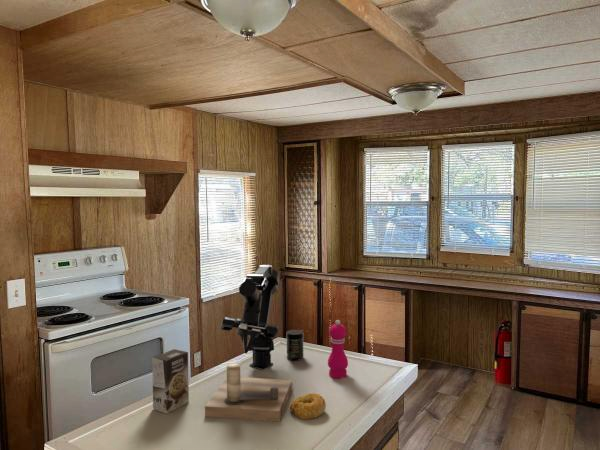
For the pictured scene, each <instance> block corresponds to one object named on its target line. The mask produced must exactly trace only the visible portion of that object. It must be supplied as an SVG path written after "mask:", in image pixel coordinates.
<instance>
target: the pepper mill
mask: <svg viewBox="0 0 600 450" xmlns="http://www.w3.org/2000/svg"><path fill="white" fill-rule="evenodd" d="M334 322H335V323H334V324H332V325H331V326H330V328H329V330H328V331H329V335H330V343H331V345H332V347H331V352H330V354H329V356H328V359H327V366H328V368H329V370H328V375H329V377H330V378H333V379H343V378H346V377H347V376H348V375H347V373H348V372H347V368H348V366H349V360H348V357H347V355H346V353H345V349H344V344H345V342H346V338H345V336H346V335H347V329H346V327H345V326H344V324H341V321H340V319H337V320H335V321H334Z"/></svg>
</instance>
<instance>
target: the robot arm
mask: <svg viewBox="0 0 600 450" xmlns="http://www.w3.org/2000/svg"><path fill="white" fill-rule="evenodd" d="M280 281H281V279H280V274H279V272H278V271H276V269H274V268H273V265H271V264H261V265H259V266H258V268H257V270H256V271H255V272H254V273H253V272H252V273H251V272H250V273H248V274H246V275H245V277H244V278H243V281H242V283H241V284H240V285H239V286H238V290H239V291H238V292H239V293H240V296H241V297H242V299H243V301H244V304H243V312H242V318H236V319H235V318H232V317H226V316H224V317H223V318H222V320H221V323H220V327H219V328H220V331H221V330H222V331H225V332H226V331H227V332H230V331H231V330H233V329H236V330H237V331H236V335H237V336H238V335H239V337H240V339H241V342H242V347H243V353H244V354H248V351H249V352H252V363H250V364H249V366H250V367H252V368H256V369H259V370H264V369H266V368H269V367H270V366H273V365H274V363H273V362H272V354H271V352H272V351H274V350H275V344H274V339H275V338H276V336H277V335H278V332H279V328H278V325H275V324H269V323H270V321H269V320H270V314H271V307H272V300H273V295H274V294H276V292H277V291H278V287H279V285H280Z"/></svg>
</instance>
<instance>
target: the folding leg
mask: <svg viewBox="0 0 600 450" xmlns="http://www.w3.org/2000/svg"><path fill="white" fill-rule="evenodd" d="M240 377H241V365H240V364H239V363H229V364H227V365H226V379H227V400H228V401H230V402H236V401H239V400H248V399H264V398H271V399H278V388H276V387H273V388H270V391H262V392H246V393H241V382H240Z"/></svg>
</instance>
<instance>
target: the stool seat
mask: <svg viewBox="0 0 600 450" xmlns="http://www.w3.org/2000/svg"><path fill="white" fill-rule="evenodd" d="M240 382H241V393H246V392H262V391H270V388H273V387H276V388H278V399H271V398H264V399H248V400H239V401H236V402H230V401H228V400H227V378H225V380H224V381H223V382H222V384H221V385H220V386H219V387H218V389H217V390H216V391H215V393H214V394H213V396H212V397H210V398H209V400H208V402H207V403H206V404H205V405H204V417H211V418H225V419H226V418H227V419H241V420H253V421H267V422H268V421H269V422H280V420H281V418H282V416H283V413H284V410H285V408H286V405H287V403H288V400H289V398H290V395H291V393H292V390H293V380H292V379H281V378H280V379H279V378H278V379H277V378H261V377H244V376H243V377H242V376H240Z"/></svg>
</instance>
